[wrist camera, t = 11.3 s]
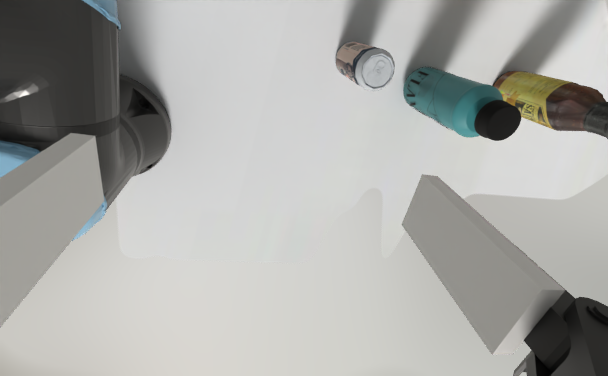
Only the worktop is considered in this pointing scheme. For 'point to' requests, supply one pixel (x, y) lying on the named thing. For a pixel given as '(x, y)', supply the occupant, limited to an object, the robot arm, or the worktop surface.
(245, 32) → the worktop surface
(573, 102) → the sauce bottle
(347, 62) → the beer can
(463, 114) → the beverage bottle
